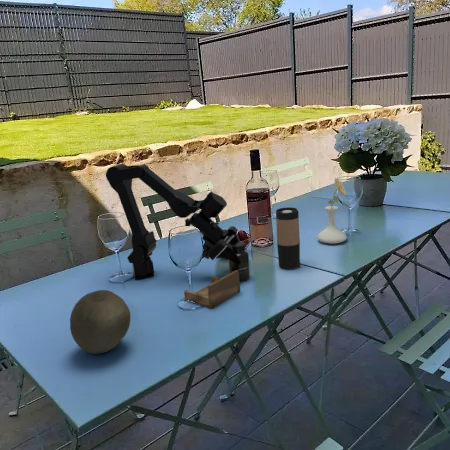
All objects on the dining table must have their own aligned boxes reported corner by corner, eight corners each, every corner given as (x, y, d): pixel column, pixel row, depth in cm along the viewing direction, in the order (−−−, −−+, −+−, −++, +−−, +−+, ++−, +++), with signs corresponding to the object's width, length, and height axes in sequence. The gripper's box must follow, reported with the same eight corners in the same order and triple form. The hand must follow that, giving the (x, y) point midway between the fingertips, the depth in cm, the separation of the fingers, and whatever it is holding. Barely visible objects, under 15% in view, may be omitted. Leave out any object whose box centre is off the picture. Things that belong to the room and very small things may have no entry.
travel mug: (273, 267, 149) (270, 211, 144) (286, 260, 154) (284, 206, 149) (292, 271, 144) (289, 214, 138) (304, 264, 149) (303, 208, 144)
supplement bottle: (243, 283, 138) (241, 248, 134) (225, 280, 141) (222, 246, 138) (253, 276, 143) (251, 241, 140) (236, 273, 147) (233, 239, 143)
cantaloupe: (78, 372, 98) (66, 313, 94) (73, 343, 110) (62, 290, 106) (139, 354, 103) (131, 297, 99) (128, 328, 116) (120, 277, 111)
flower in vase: (335, 248, 162) (334, 182, 156) (311, 242, 171) (309, 180, 164) (355, 239, 171) (355, 176, 164) (331, 234, 179) (330, 174, 172)
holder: (185, 300, 130) (182, 278, 128) (213, 284, 139) (211, 264, 137) (212, 308, 123) (210, 286, 121) (240, 291, 132) (238, 270, 130)
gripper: (201, 235, 152) (233, 264, 152) (182, 253, 134) (219, 287, 135) (220, 213, 147) (254, 243, 147) (204, 229, 130) (242, 264, 130)
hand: (242, 259), depth 140 cm, fingers closed on supplement bottle, 7 cm apart
